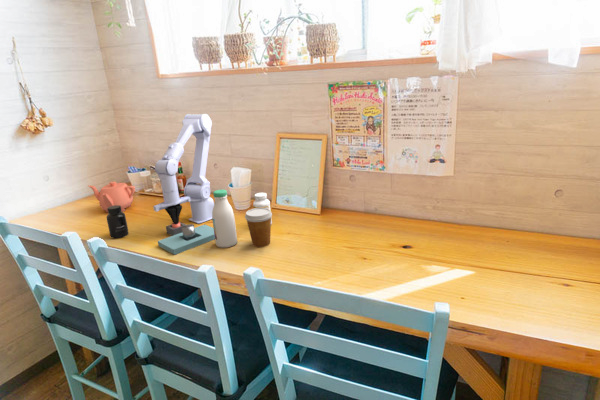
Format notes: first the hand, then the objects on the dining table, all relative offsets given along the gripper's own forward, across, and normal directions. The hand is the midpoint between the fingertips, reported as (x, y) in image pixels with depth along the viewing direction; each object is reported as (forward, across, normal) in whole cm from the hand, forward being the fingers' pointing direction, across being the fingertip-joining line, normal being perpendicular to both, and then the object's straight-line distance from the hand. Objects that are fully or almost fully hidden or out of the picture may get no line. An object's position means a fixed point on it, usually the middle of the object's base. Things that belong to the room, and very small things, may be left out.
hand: (175, 223), depth 160 cm
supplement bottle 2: (+4, -26, +22) cm, 34 cm away
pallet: (+4, +1, +12) cm, 13 cm away
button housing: (+4, 0, 0) cm, 4 cm away
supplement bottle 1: (+4, +16, -17) cm, 24 cm away
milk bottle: (+4, -6, +25) cm, 26 cm away
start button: (+3, 0, 0) cm, 3 cm away
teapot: (+4, +4, -52) cm, 52 cm away
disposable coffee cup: (+4, -14, +35) cm, 38 cm away
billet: (+4, +1, +12) cm, 13 cm away
